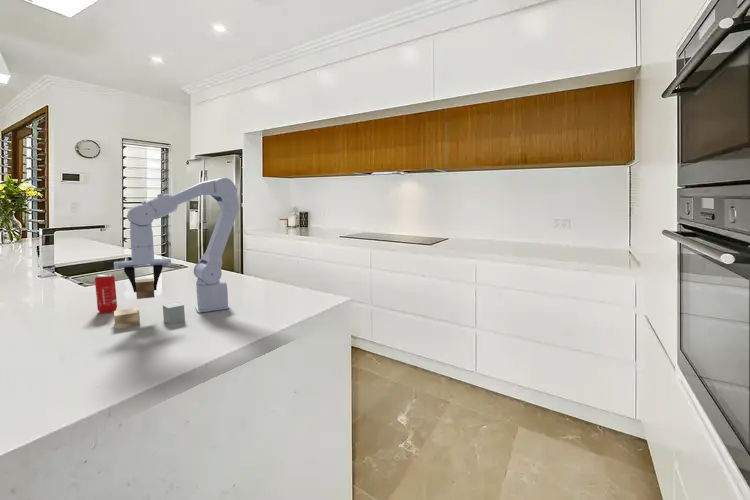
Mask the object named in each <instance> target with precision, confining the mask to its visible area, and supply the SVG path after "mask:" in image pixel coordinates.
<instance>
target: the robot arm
mask: <svg viewBox="0 0 750 500" xmlns="http://www.w3.org/2000/svg"><path fill="white" fill-rule="evenodd" d="M200 196H211V197H212V198H213V199H214V200H215V201H216V202H217V204H218V205H219V207H220V209H221V210H220V212H219V215H218V217H217V221H216V222H215V224H214V225H215V226H214V228H213V230H212V234H211V236H210V239H209V241H208V245H207V248H206V250H205V252H204V253H203V254H202V256H201V257H200V260H199V261H198V263H196V264H195V266H194V268H193V275H194V276H195V278H196V281H195V285H196V287H195V288H196V301H197V302H196V303H197V305H195V306H194V307H195V309H196V312H197V313H200V314H201V313H205V312H206V313H207V312H214V311H221V310H222V311H223V310H228V309H229V295H228V293H229V292H228V284H227V282H226V281H224V280H223V281H220V279H221V278H222V267H223V259H222V258H223V254H224V251H225V248H226V245H227V243H228V241H229V237H230V235H231V231H232V229H233V225H234V223H235V220H236V219H237V218H236V217H237V215H238V213H239V209H240V208H239V206H240V205H239V201H238V200H239V199H238V188H237V186H236V185H235V182H233V181H232V179H230V178H228V177H221V178H213V179H210V180H206V181H202V182H198V183H196V184H194V185H193V186H190V187H188V188H186V189H184V190H182V191H179V192H177V193H175V194H173V195H172V194H169V193H164V194H163V193H159V194H157V197H154V198H153V199H150V200H148V201H146V200H143V201H141V202H140V203H141V205H135V206H132V207H131V208H129V210H128V212H127V215H126V218H127V220H128V221H129V223H130V224H129V228H130V231H129V236H130V250H131V260H122V261H114V262H113V269H114V270H119V269H123V270H124V271H123V272H124V274H125V275H126V276H127V278H128V280H129V282H130V284H131V286H132V290H133V293H136V269H135V268H150V267H152V270H153V271H152V272H153V281H154V291H157V287H158V282H159V279H160V276H161V273H162V272H163V268H164V266H167V267H169V266H170V267H171V266H172V259H171V258H155V251H154V250H155V246H154V233H153V227H152V223H153V221H154V220H158V219H161V218H163V217H165V216H167V215H169V214H171V213H173V212H175V211H177V209H178V207H179V205H181V204H183V203H186V202H188V201H190V200H193V199H195V198H198V197H200Z"/></svg>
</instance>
